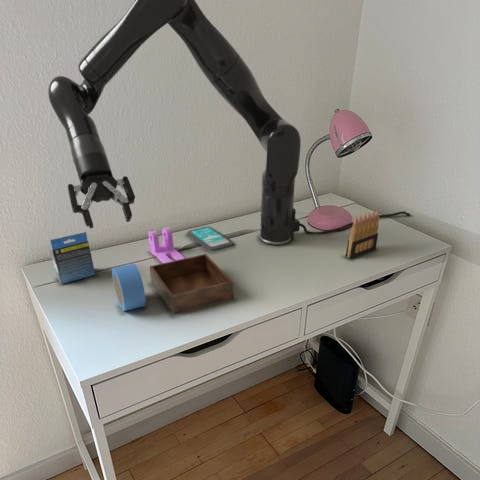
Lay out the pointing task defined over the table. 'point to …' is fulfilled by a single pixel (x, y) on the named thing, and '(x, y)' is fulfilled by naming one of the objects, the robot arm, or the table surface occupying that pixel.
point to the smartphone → (209, 238)
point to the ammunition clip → (363, 235)
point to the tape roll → (128, 287)
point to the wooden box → (191, 283)
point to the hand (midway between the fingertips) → (110, 223)
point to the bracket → (163, 246)
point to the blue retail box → (72, 258)
